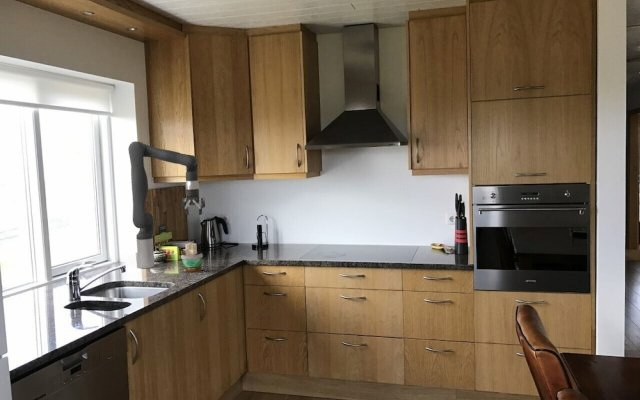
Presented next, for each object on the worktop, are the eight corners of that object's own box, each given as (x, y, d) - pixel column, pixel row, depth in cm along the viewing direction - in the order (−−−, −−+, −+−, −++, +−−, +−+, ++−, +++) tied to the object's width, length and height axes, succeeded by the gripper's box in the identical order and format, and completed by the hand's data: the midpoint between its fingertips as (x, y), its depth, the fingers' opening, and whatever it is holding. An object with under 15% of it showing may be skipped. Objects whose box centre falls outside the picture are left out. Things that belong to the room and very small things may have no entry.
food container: (181, 274, 293) (180, 256, 292) (181, 271, 299) (180, 254, 298) (204, 272, 296) (203, 254, 296) (203, 269, 302) (202, 252, 302)
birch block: (185, 255, 295) (185, 244, 295) (189, 253, 300) (189, 243, 299) (193, 255, 294) (192, 244, 294) (197, 253, 299) (196, 243, 298)
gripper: (178, 189, 314) (180, 215, 315) (200, 188, 311) (202, 215, 312) (184, 188, 321) (186, 214, 323) (206, 187, 318) (207, 214, 319)
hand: (193, 215), depth 317 cm, fingers open, 8 cm apart
